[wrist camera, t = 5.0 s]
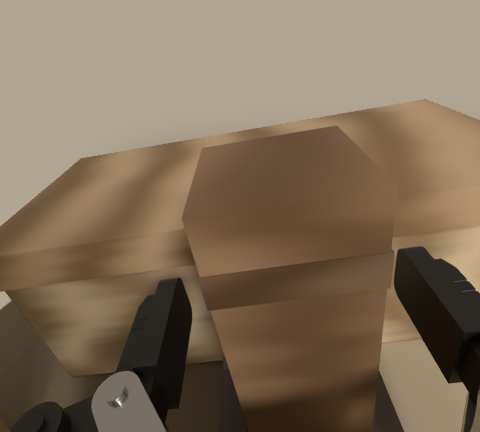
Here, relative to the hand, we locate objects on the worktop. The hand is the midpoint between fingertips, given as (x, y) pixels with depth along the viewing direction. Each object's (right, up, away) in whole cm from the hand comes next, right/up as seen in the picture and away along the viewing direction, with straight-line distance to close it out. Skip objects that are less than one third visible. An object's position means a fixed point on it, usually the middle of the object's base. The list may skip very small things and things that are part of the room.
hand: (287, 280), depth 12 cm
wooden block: (+1, -8, +3) cm, 9 cm away
